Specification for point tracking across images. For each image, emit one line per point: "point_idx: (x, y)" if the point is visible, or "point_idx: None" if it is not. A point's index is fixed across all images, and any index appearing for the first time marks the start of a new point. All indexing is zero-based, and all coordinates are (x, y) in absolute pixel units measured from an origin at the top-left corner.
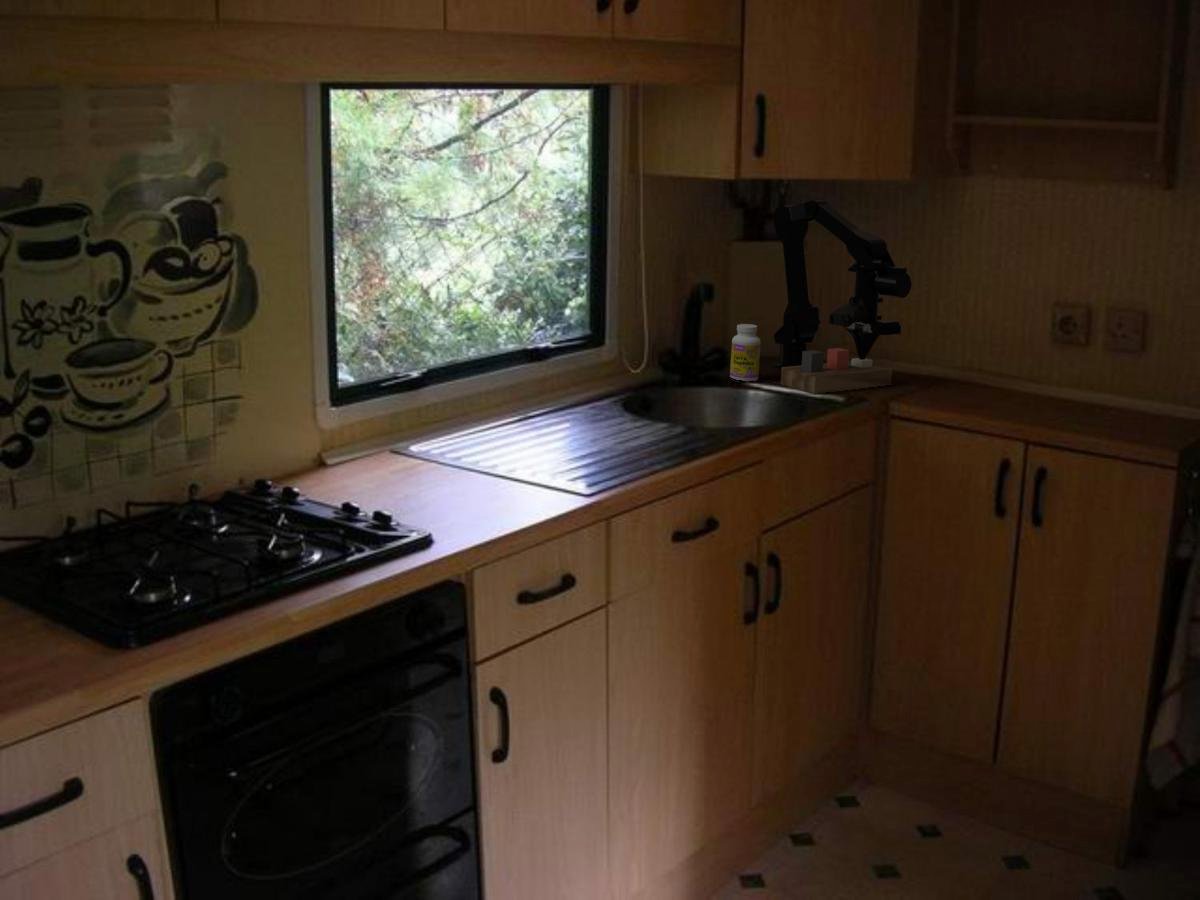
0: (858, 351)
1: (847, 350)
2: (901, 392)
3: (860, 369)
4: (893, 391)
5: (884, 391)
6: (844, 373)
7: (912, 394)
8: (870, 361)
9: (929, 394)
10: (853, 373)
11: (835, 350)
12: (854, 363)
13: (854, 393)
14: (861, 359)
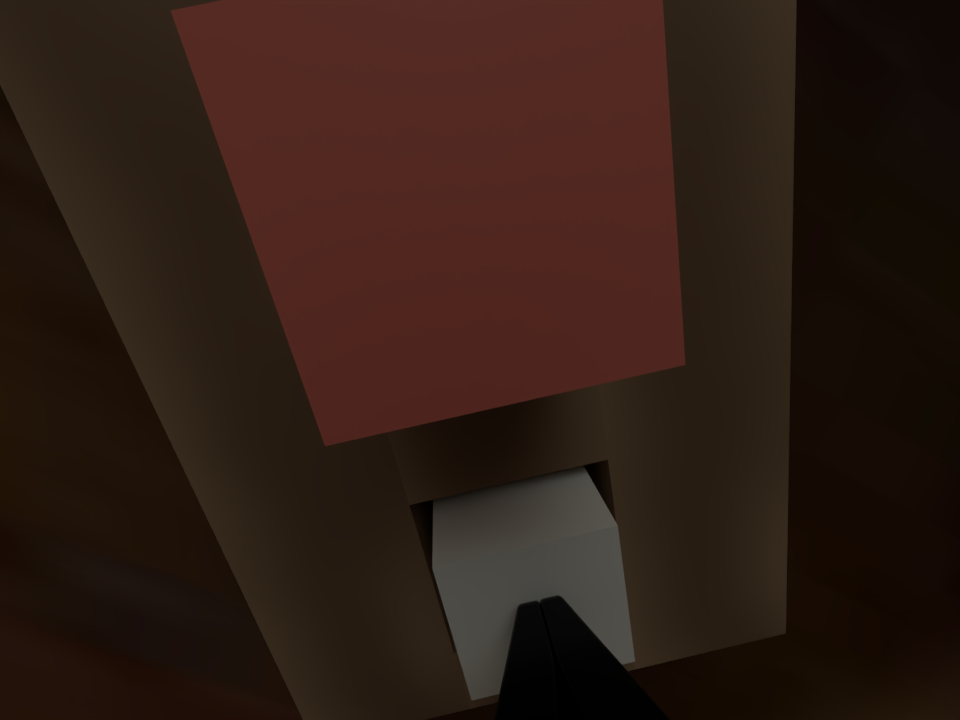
0: (588, 670)
1: (313, 404)
2: (95, 584)
3: (309, 456)
4: (135, 548)
5: (137, 487)
6: (23, 98)
7: (19, 623)
8: (462, 663)
9: (25, 715)
10: (94, 268)
11: (353, 37)
12: (546, 505)
13: (41, 190)
14: (520, 604)
